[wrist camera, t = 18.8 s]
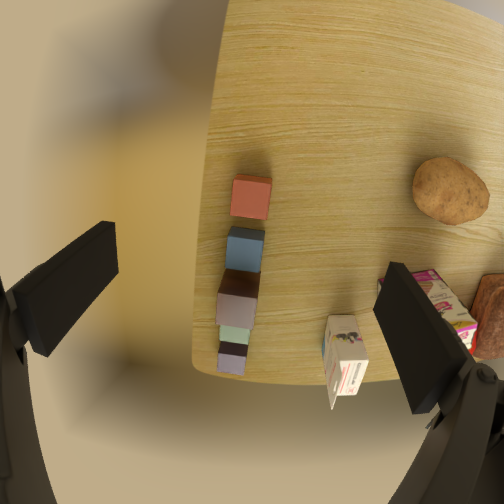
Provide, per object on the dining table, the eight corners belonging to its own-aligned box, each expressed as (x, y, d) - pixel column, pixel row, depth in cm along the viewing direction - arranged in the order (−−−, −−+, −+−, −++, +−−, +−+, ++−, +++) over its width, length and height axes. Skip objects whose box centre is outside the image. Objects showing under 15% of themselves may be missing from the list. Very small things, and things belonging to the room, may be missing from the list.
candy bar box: (433, 266, 45) (480, 322, 30) (431, 290, 47) (472, 349, 32) (376, 277, 47) (409, 342, 32) (375, 302, 49) (404, 369, 34)
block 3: (224, 303, 51) (220, 317, 47) (253, 307, 51) (251, 322, 47) (222, 326, 53) (219, 340, 49) (250, 330, 53) (248, 344, 49)
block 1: (237, 173, 42) (233, 178, 38) (272, 178, 42) (271, 183, 38) (233, 207, 44) (229, 215, 40) (267, 211, 44) (266, 220, 40)
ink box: (346, 349, 54) (359, 410, 40) (321, 349, 54) (329, 411, 40) (355, 314, 50) (374, 374, 37) (327, 313, 50) (340, 376, 37)
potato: (464, 220, 41) (489, 238, 34) (395, 208, 42) (416, 226, 35) (475, 164, 37) (504, 175, 30) (405, 146, 38) (430, 152, 31)
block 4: (221, 338, 54) (218, 352, 51) (248, 342, 54) (246, 357, 51) (220, 357, 56) (216, 371, 53) (245, 360, 56) (243, 375, 53)
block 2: (231, 226, 45) (227, 236, 42) (264, 230, 45) (263, 241, 41) (228, 256, 47) (224, 268, 44) (260, 260, 47) (259, 272, 44)
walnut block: (223, 295, 50) (215, 324, 43) (226, 266, 48) (217, 292, 41) (256, 299, 50) (252, 329, 43) (260, 271, 48) (257, 298, 41)
